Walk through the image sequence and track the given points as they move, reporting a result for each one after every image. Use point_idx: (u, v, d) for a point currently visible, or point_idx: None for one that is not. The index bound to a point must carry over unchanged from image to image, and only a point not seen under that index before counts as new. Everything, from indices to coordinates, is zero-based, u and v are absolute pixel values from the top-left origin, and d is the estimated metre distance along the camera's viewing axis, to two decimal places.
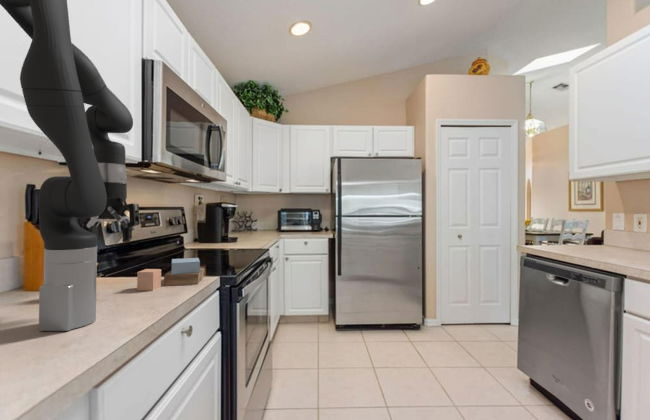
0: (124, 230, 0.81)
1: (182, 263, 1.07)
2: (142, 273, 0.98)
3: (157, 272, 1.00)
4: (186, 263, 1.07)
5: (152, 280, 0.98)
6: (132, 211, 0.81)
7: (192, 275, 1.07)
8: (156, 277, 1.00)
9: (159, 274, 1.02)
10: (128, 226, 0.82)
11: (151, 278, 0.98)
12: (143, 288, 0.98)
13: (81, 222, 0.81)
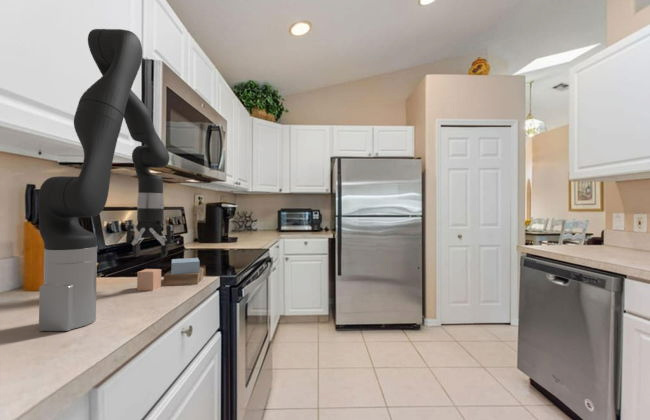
0: (162, 247, 1.00)
1: (182, 263, 1.07)
2: (142, 273, 0.98)
3: (157, 272, 1.00)
4: (186, 263, 1.08)
5: (152, 280, 0.98)
6: (169, 231, 0.99)
7: (191, 275, 1.07)
8: (156, 277, 1.00)
9: (159, 274, 1.02)
10: (165, 244, 1.00)
11: (151, 278, 0.98)
12: (143, 288, 0.98)
13: (127, 240, 0.99)
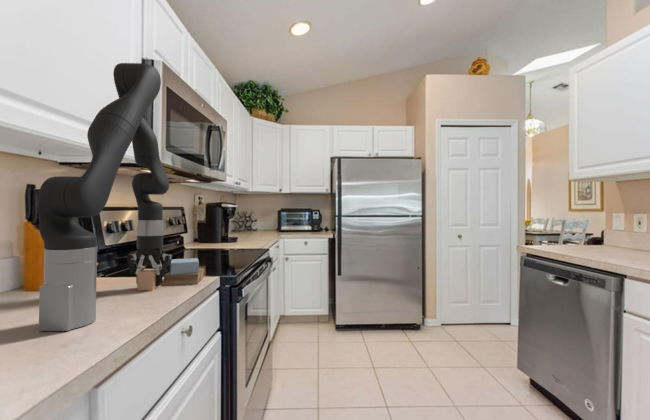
0: (156, 276, 0.99)
1: (181, 263, 1.07)
2: (142, 273, 0.98)
3: None
4: (185, 263, 1.07)
5: (152, 280, 0.98)
6: (166, 261, 0.99)
7: (192, 275, 1.07)
8: None
9: None
10: (160, 273, 1.00)
11: (151, 278, 0.98)
12: (143, 288, 0.98)
13: (131, 270, 0.99)
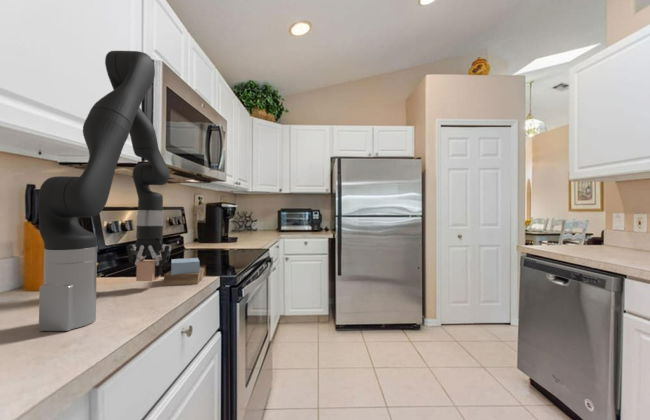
0: (156, 267, 0.99)
1: (182, 263, 1.07)
2: (141, 263, 0.97)
3: None
4: (186, 263, 1.07)
5: (151, 270, 0.97)
6: (166, 252, 0.99)
7: (192, 275, 1.07)
8: None
9: None
10: (159, 264, 0.99)
11: (151, 268, 0.97)
12: (142, 278, 0.97)
13: (130, 261, 0.99)
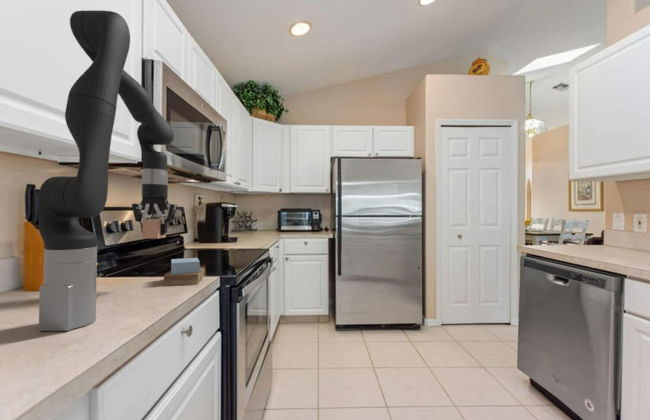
0: (161, 225, 1.01)
1: (182, 263, 1.07)
2: (147, 221, 0.99)
3: None
4: (186, 263, 1.08)
5: (157, 228, 0.99)
6: (171, 210, 1.01)
7: (192, 275, 1.07)
8: None
9: None
10: (165, 222, 1.01)
11: (156, 226, 0.99)
12: (148, 236, 0.99)
13: (136, 219, 1.00)
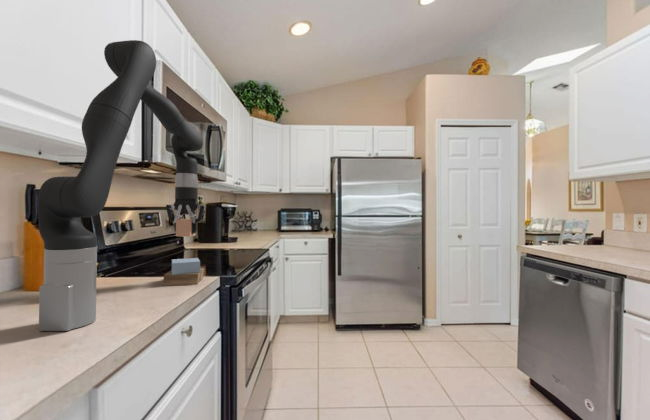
0: (192, 224, 1.10)
1: (182, 263, 1.07)
2: (180, 220, 1.09)
3: None
4: (186, 263, 1.07)
5: (189, 227, 1.09)
6: (201, 211, 1.10)
7: (192, 275, 1.07)
8: None
9: None
10: (195, 221, 1.11)
11: (188, 225, 1.09)
12: (181, 234, 1.09)
13: (170, 219, 1.10)
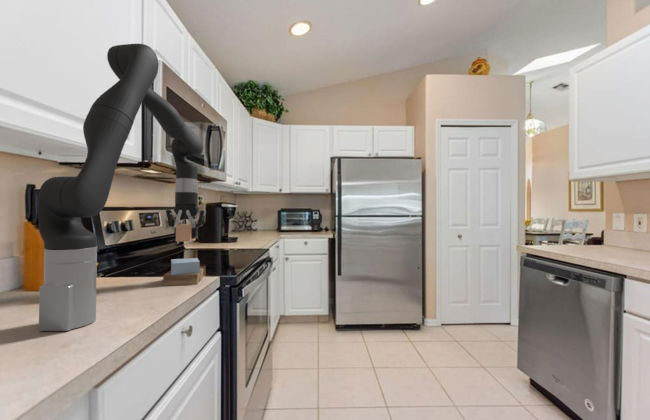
0: (192, 229, 1.10)
1: (182, 263, 1.07)
2: (180, 225, 1.09)
3: None
4: (186, 263, 1.07)
5: (189, 232, 1.09)
6: (201, 216, 1.10)
7: (191, 275, 1.07)
8: None
9: None
10: (195, 226, 1.11)
11: (188, 230, 1.09)
12: (181, 239, 1.09)
13: (170, 224, 1.10)
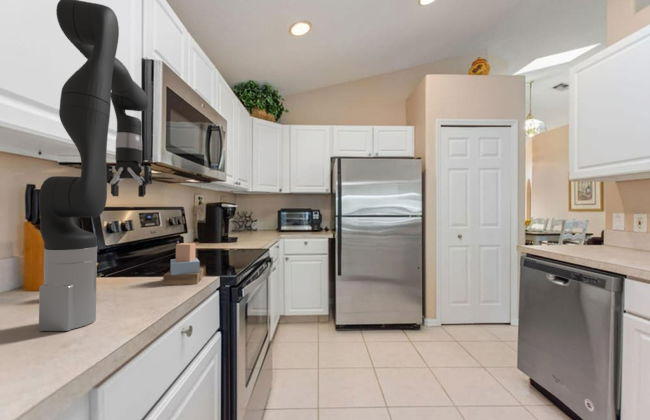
0: (140, 187, 1.02)
1: (182, 263, 1.07)
2: (180, 245, 1.09)
3: (192, 245, 1.12)
4: (186, 263, 1.08)
5: (189, 252, 1.09)
6: (146, 171, 1.02)
7: (191, 275, 1.07)
8: (192, 249, 1.11)
9: (194, 247, 1.13)
10: (143, 183, 1.02)
11: (188, 250, 1.09)
12: (181, 259, 1.09)
13: None
